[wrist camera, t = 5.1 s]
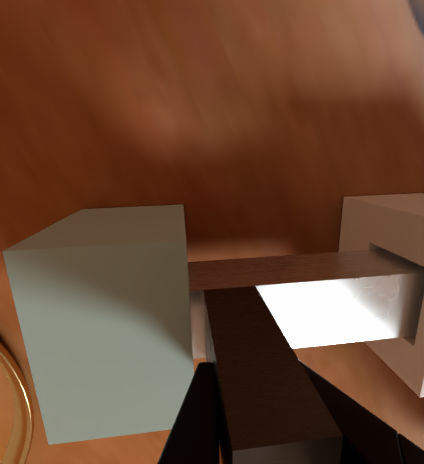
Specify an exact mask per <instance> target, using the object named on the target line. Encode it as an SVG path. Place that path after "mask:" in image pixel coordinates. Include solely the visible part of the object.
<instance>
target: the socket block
mask: <svg viewBox="0 0 424 464" xmlns="http://www.w3.org/2000/svg"><path fill="white" fill-rule="evenodd" d="M2 253H3V257H4V261H5V265H6V269H7V273H8V278H9V282H10V286H11V290H12V294H13V298H14V302H15V307H16V311H17V315H18V319H19V323H20V327H21V332H22V336H23V340H24V344H25V348H26V352H27V356H28V361H29V365H30V369H31V373H32V377H33V381H34V386H35V390H36V394H37V398H38V402H39V406H40V410H41V415H42V419H43V423H44V427H45V431H46V435H47V440H48V444H49V445H52V444H59V443H67V442H75V441H83V440H91V439H99V438H106V437H114V436H122V435H130V434H138V433H146V432H154V431H161V430H169V429H172V427H173V424H174V422H175V419H176V417H177V415H178V412H179V410H180V407H181V405H182V402H183V400H184V398H185V395H186V393H187V390H188V388H189V385H190V383H191V381H192V378H193V376H194V369H193V351H192V333H191V315H190V298H189V280H188V262H187V244H186V230H185V218H184V206H183V204H180V205H159V206H138V207H117V208H96V209H81V210H79V211H77V212H75V213H73V214H71V215H69V216H68V217H66V218H64V219H62V220H60V221H58V222H56V223H54V224H53V225H51V226H49V227H47V228H45V229H43V230H41V231H39V232H37V233H36V234H34V235H32V236H30V237H28V238H26V239H24V240H22V241H21V242H19V243H17V244H15V245H13V246H11V247H9V248H7V249H6V250H4V251H2Z"/></svg>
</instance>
